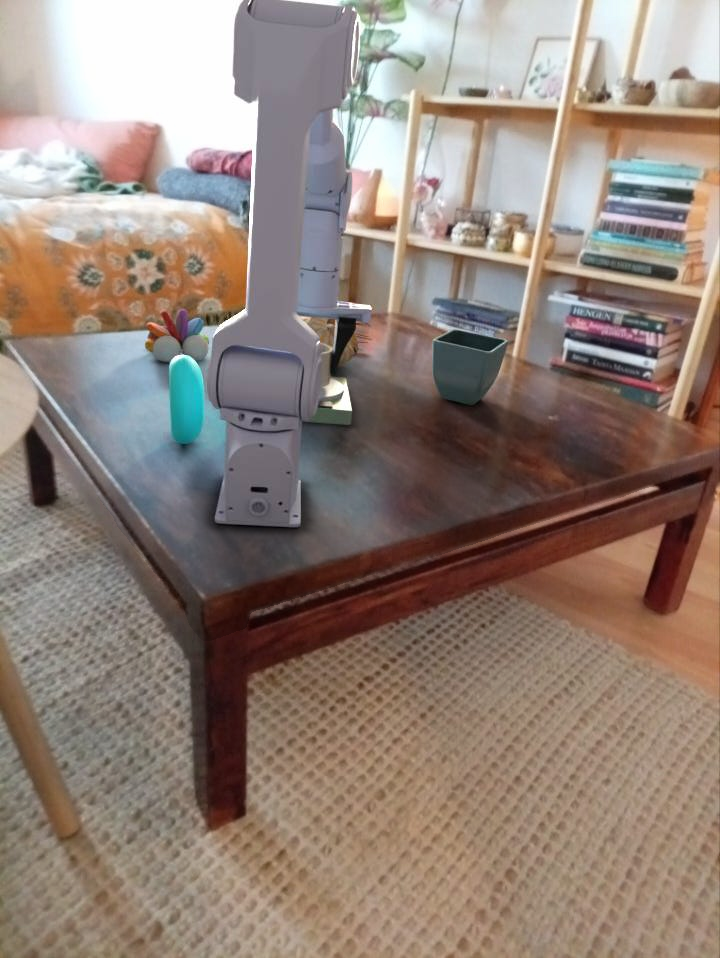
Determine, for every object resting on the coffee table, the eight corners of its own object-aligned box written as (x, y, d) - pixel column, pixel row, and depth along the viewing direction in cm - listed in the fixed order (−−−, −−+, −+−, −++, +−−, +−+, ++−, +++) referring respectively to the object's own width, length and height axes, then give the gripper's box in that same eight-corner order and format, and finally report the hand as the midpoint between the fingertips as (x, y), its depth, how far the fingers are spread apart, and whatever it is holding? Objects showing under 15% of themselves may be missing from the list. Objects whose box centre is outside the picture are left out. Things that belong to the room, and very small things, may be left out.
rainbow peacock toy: (140, 348, 110) (139, 302, 107) (202, 347, 114) (202, 302, 111) (150, 365, 104) (149, 316, 100) (215, 363, 108) (216, 316, 104)
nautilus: (342, 344, 126) (405, 372, 118) (248, 353, 111) (312, 386, 103) (350, 300, 123) (415, 326, 114) (254, 303, 108) (321, 333, 99)
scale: (350, 425, 91) (352, 406, 90) (265, 419, 90) (265, 400, 89) (344, 391, 103) (346, 373, 101) (269, 385, 101) (269, 368, 100)
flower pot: (422, 398, 103) (431, 338, 99) (444, 384, 110) (453, 327, 106) (479, 413, 100) (491, 352, 96) (498, 397, 107) (509, 340, 103)
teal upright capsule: (263, 457, 80) (267, 372, 75) (172, 458, 77) (170, 371, 72) (252, 423, 88) (255, 345, 84) (169, 423, 85) (168, 343, 81)
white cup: (330, 389, 93) (333, 355, 91) (287, 385, 92) (289, 351, 90) (329, 375, 98) (331, 343, 96) (288, 372, 97) (290, 339, 95)
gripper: (371, 266, 93) (361, 365, 99) (261, 256, 91) (257, 357, 97) (376, 277, 87) (365, 382, 93) (258, 266, 85) (254, 373, 91)
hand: (310, 370), depth 95 cm, fingers closed on white cup, 6 cm apart
